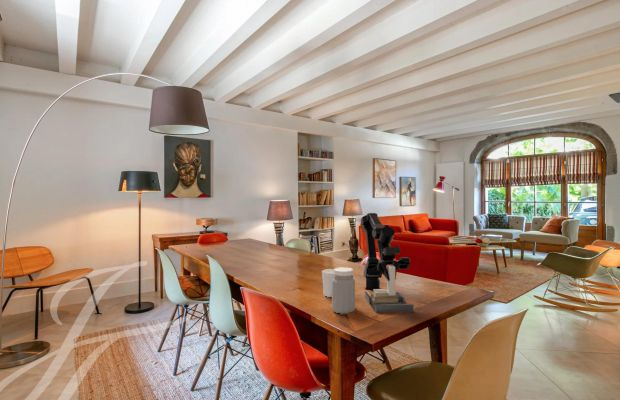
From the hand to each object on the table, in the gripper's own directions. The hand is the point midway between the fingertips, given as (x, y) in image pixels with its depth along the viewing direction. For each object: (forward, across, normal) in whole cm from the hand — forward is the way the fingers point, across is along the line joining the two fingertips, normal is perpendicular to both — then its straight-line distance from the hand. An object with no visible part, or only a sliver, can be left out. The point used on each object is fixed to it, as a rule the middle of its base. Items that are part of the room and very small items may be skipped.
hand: (391, 280), depth 140 cm
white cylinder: (-7, -23, +27) cm, 36 cm away
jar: (+8, -21, +11) cm, 25 cm away
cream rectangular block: (+3, 0, +5) cm, 6 cm away
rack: (+5, 0, +14) cm, 15 cm away
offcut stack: (+1, 0, +18) cm, 18 cm away
